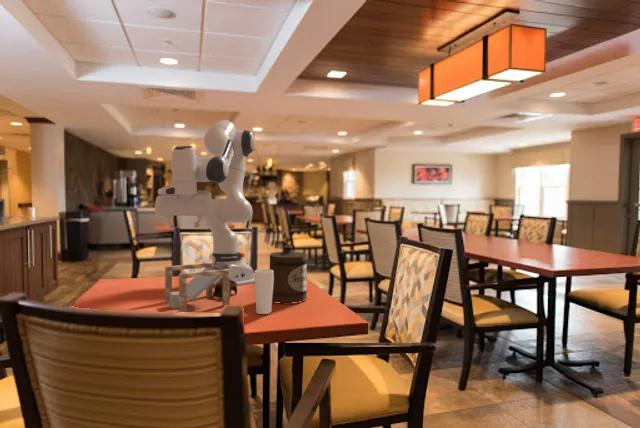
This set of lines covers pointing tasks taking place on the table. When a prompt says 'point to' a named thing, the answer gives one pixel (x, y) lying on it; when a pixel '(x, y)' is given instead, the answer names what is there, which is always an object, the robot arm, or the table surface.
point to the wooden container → (289, 275)
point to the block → (174, 299)
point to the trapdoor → (203, 281)
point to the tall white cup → (263, 290)
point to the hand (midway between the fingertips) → (184, 227)
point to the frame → (196, 274)
